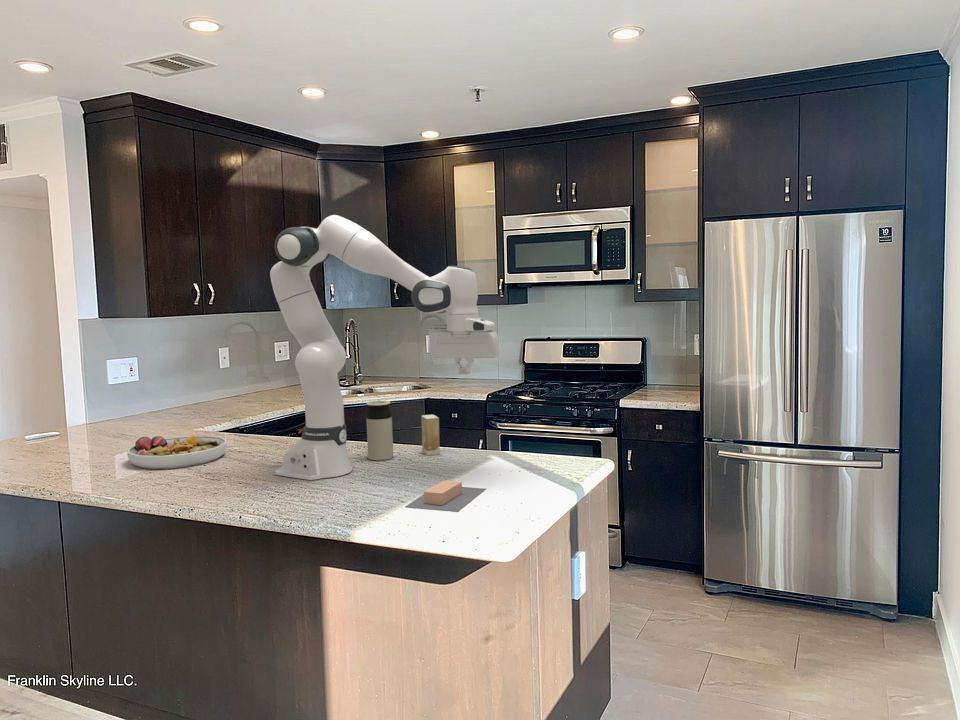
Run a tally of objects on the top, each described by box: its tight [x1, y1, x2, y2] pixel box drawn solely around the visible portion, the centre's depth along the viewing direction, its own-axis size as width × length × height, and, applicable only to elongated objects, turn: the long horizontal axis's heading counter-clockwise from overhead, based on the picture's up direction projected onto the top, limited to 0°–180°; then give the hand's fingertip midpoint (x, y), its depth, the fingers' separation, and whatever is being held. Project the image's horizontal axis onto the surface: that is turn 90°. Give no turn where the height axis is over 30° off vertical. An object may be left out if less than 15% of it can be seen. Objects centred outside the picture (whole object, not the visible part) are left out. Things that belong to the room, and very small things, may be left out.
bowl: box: [126, 434, 228, 470], centre depth 232 cm, size 30×30×8 cm
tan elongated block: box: [423, 480, 463, 505], centre depth 178 cm, size 5×3×11 cm
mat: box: [404, 486, 487, 513], centre depth 179 cm, size 14×20×1 cm
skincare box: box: [421, 414, 441, 456], centre depth 230 cm, size 6×4×12 cm
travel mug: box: [365, 400, 394, 462], centre depth 225 cm, size 8×8×18 cm
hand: (464, 374), depth 198 cm, fingers closed
